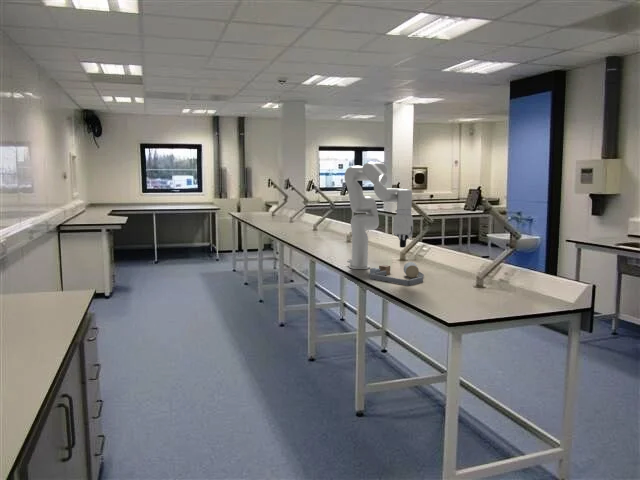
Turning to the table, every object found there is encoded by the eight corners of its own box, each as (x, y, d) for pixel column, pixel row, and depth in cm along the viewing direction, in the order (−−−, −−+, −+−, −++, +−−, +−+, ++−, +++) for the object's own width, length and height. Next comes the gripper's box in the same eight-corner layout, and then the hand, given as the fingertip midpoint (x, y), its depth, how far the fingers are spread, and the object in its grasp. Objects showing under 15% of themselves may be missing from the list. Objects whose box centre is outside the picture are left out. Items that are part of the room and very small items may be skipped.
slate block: (369, 275, 282) (369, 268, 281) (374, 274, 285) (374, 267, 284) (375, 276, 279) (375, 269, 279) (380, 275, 282) (380, 268, 282)
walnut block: (378, 273, 288) (379, 265, 288) (383, 272, 292) (383, 264, 291) (385, 274, 285) (385, 266, 285) (390, 273, 289) (390, 265, 288)
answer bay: (369, 278, 274) (369, 273, 273) (384, 275, 284) (384, 270, 283) (408, 285, 257) (408, 280, 257) (422, 281, 267) (423, 277, 267)
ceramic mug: (405, 278, 276) (406, 264, 275) (403, 275, 284) (403, 261, 283) (425, 279, 276) (426, 264, 275) (422, 276, 284) (423, 262, 283)
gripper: (388, 212, 272) (387, 246, 275) (412, 214, 262) (410, 249, 265) (396, 211, 278) (395, 245, 280) (420, 213, 268) (418, 248, 270)
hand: (402, 247), depth 272 cm, fingers closed
